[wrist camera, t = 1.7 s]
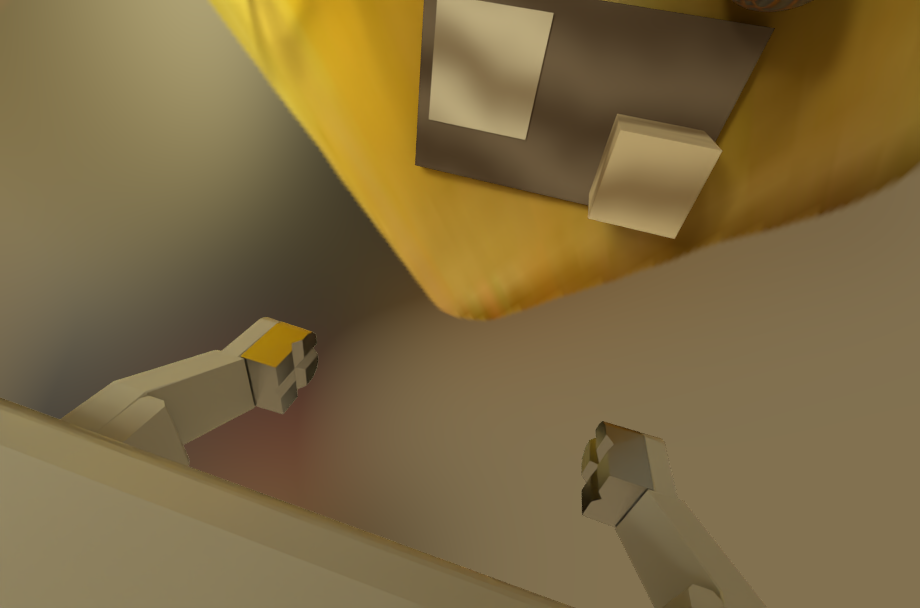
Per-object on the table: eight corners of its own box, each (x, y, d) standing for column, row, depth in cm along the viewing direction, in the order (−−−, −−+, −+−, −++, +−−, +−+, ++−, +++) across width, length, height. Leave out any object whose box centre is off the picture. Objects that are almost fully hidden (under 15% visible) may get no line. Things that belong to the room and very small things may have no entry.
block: (617, 113, 28) (620, 130, 24) (704, 130, 27) (722, 150, 23) (589, 193, 31) (588, 218, 28) (664, 210, 31) (674, 238, 27)
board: (430, -27, 27) (424, -28, 26) (768, 27, 24) (775, 28, 23) (419, 161, 35) (414, 165, 34) (670, 219, 32) (672, 225, 31)
